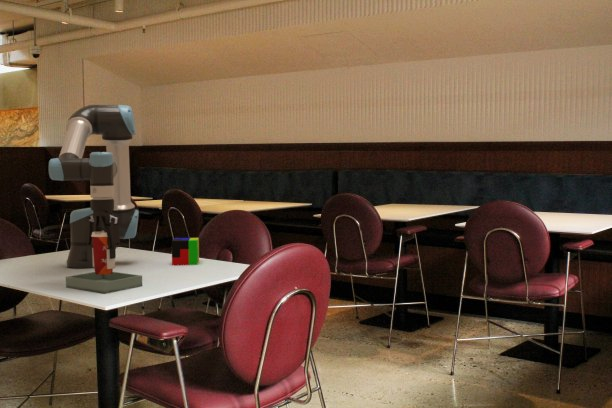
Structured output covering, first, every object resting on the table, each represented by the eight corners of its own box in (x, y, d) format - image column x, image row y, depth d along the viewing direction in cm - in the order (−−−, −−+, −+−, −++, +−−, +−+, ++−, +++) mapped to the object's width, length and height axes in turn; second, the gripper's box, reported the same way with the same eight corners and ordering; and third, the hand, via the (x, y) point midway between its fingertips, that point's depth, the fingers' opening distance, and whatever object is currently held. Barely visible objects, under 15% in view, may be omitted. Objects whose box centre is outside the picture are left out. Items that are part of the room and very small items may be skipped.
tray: (66, 287, 227) (65, 276, 227) (103, 280, 240) (103, 270, 240) (105, 293, 216) (104, 282, 216) (142, 285, 229) (142, 275, 229)
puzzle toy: (174, 262, 283) (174, 238, 282) (199, 261, 284) (198, 237, 283) (172, 265, 273) (171, 240, 272) (197, 265, 274) (196, 240, 273)
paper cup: (108, 275, 223) (108, 233, 222) (87, 274, 224) (86, 232, 224) (120, 271, 231) (119, 230, 230) (99, 271, 232) (98, 230, 231)
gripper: (74, 198, 228) (75, 266, 230) (112, 199, 218) (114, 271, 219) (92, 197, 235) (94, 263, 236) (131, 198, 224) (132, 268, 225)
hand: (103, 267), depth 227 cm, fingers closed on paper cup, 6 cm apart
